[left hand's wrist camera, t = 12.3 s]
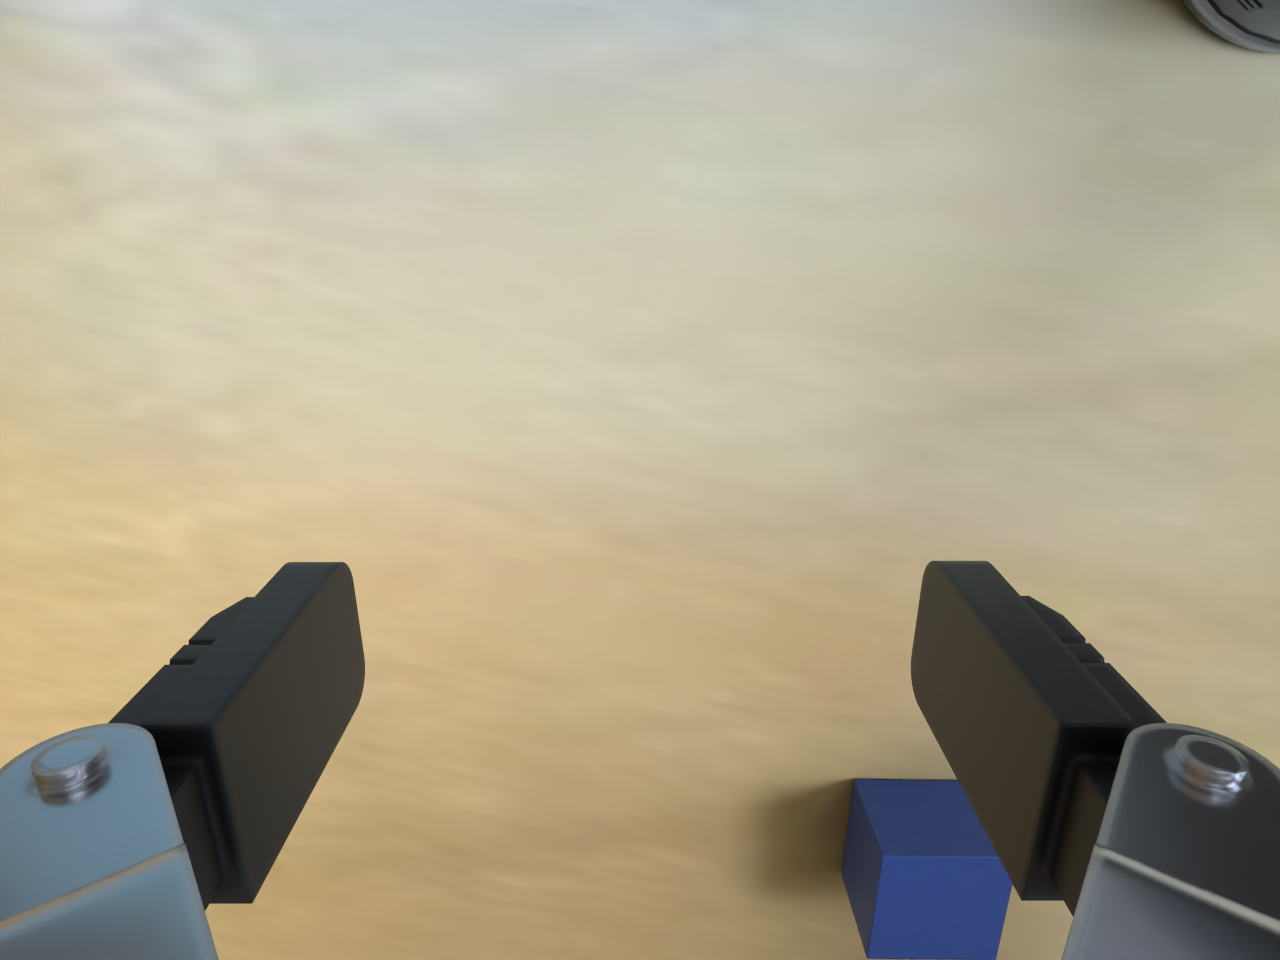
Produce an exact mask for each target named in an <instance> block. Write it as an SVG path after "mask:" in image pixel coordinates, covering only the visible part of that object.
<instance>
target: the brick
mask: <svg viewBox="0 0 1280 960" xmlns="http://www.w3.org/2000/svg"><path fill="white" fill-rule="evenodd" d="M842 877H843V880H844V883H845V887H846V890H847V893H848V897H849V900H850V903H851V907H852V910H853V913H854V917H855V920H856V923H857V927H858V930H859V933H860V937H861V940H862V943H863V947H864V950H865V953H866V957H867V958H868V959H951V960H995V959H996V956H997V952H998V947H999V942H1000V938H1001V933H1002V929H1003V924H1004V920H1005V915H1006V911H1007V906H1008V902H1009V897H1010V893H1011V888H1012V884H1013V883H1012V881H1011V880H1010V878H1009V876H1008V874H1007V872H1006V870H1005V868H1004V866H1003V864H1002V863H1001V861H1000V859H999V857H998V855H997V853H996V851H995V849H994V847H993V845H992V844H991V842H990V840H989V838H988V836H987V834H986V832H985V830H984V828H983V827H982V825H981V823H980V821H979V819H978V817H977V815H976V813H975V811H974V810H973V808H972V806H971V804H970V802H969V800H968V798H967V796H966V794H965V793H964V791H963V789H962V787H961V785H960V783H959V781H954V780H872V779H855V780H854V782H853V790H852V798H851V805H850V813H849V821H848V829H847V837H846V844H845V852H844V860H843V868H842Z"/></svg>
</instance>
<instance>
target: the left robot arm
mask: <svg viewBox="0 0 1280 960" xmlns="http://www.w3.org/2000/svg"><path fill="white" fill-rule="evenodd" d="M1183 2H1184V3H1185V5H1186V6H1187V8H1188V9H1189V10H1190V11H1191V12H1192V13H1193V14H1194V16H1195V17H1196V18H1197V19H1198V20H1199V21H1200V22H1202V23H1203V24H1204V25H1205V26H1206V27H1207V28H1208V29H1210V30H1211V31H1213V32H1214V33H1216V34H1217V35H1219V36H1220V37H1222V38H1224V39H1226V40H1228V41H1230V42H1232V43H1234V44H1236V45H1239V46H1242V47H1245V48H1248V49H1251V50H1256V51H1261V52H1267V53H1278V54H1280V0H1183ZM364 678H365V660H364V652H363V645H362V639H361V632H360V625H359V618H358V611H357V604H356V597H355V590H354V583H353V577H352V574H351V571H350V569H349V567H348V565H347V564H346V563H344V562H289V563H286V564H285V565H284V566H283V567H282V568H281V569H280V570H279V571H278V572H277V573H276V574H275V575H274V577H273V578H272V579H271V580H270V581H269V582H268V583H267V584H266V585H265V586H264V587H263V589H262V590H261V591H260V592H259V593H258V594H257V595H256V596H255V597H246V598H244V599H242V600H241V601H239V602H237V603H235V604H234V605H232V606H230V607H228V608H227V609H225V610H223V611H221V612H220V613H218V614H216V615H214V616H213V617H211V618H210V619H209V620H208V621H207V622H206V623H205V624H204V625H203V626H202V627H201V628H200V629H199V630H198V632H197V633H196V634H195V635H194V636H193V637H192V638H191V639H190V640H189V645H184V646H183V647H182V648H181V649H180V650H179V651H178V652H177V653H176V654H175V655H174V656H173V657H172V658H171V659H170V664H169V665H164V666H163V667H162V668H161V669H160V670H159V671H158V672H157V673H156V675H155V676H154V677H153V678H152V679H151V680H150V681H149V682H148V683H147V684H146V685H145V686H144V687H143V688H142V689H141V690H140V691H139V692H138V693H137V694H136V695H135V696H134V697H133V698H132V699H131V700H130V701H129V702H128V703H127V704H126V705H125V706H124V707H123V708H122V709H121V710H120V711H119V712H118V713H117V714H116V715H115V716H114V718H113V719H112V720H111V721H110V722H109V723H107V724H99V725H92V726H88V727H83V728H79V729H76V730H72V731H69V732H66V733H63V734H60V735H57V736H55V737H52V738H50V739H48V740H46V741H43V742H41V743H39V744H37V745H35V746H33V747H31V748H30V749H28V750H26V751H24V752H23V753H21V754H20V755H18V756H17V757H15V758H14V759H12V760H11V761H10V762H8V763H7V764H6V765H5V766H3V767H2V768H1V769H0V960H219V959H218V956H217V952H216V949H215V945H214V942H213V938H212V935H211V931H210V928H209V924H208V921H207V917H206V914H205V910H206V909H207V907H208V905H209V903H253V901H254V899H255V897H256V895H257V893H258V892H259V890H260V888H261V886H262V884H263V882H264V880H265V879H266V877H267V875H268V873H269V871H270V869H271V867H272V865H273V864H274V862H275V860H276V858H277V856H278V854H279V852H280V850H281V849H282V847H283V845H284V843H285V841H286V839H287V837H288V836H289V834H290V832H291V830H292V828H293V826H294V824H295V822H296V821H297V819H298V817H299V815H300V813H301V811H302V809H303V807H304V806H305V804H306V802H307V800H308V798H309V796H310V794H311V793H312V791H313V789H314V787H315V785H316V783H317V781H318V779H319V778H320V776H321V774H322V772H323V770H324V768H325V766H326V764H327V763H328V761H329V759H330V757H331V755H332V753H333V751H334V750H335V748H336V746H337V744H338V742H339V740H340V738H341V736H342V735H343V733H344V731H345V729H346V727H347V725H348V723H349V722H350V720H351V718H352V716H353V714H354V712H355V710H356V708H357V706H358V704H359V702H360V699H361V695H362V691H363V686H364ZM911 678H912V686H913V691H914V694H915V698H916V701H917V703H918V705H919V707H920V709H921V711H922V713H923V715H924V717H925V719H926V721H927V723H928V724H929V726H930V728H931V730H932V732H933V734H934V736H935V738H936V740H937V741H938V743H939V745H940V747H941V749H942V751H943V753H944V755H945V757H946V758H947V760H948V762H949V764H950V766H951V768H952V770H953V772H954V774H955V775H956V777H957V779H958V781H959V783H960V785H961V787H962V789H963V791H964V793H965V794H966V796H967V798H968V800H969V802H970V804H971V806H972V808H973V810H974V811H975V813H976V815H977V817H978V819H979V821H980V823H981V825H982V827H983V828H984V830H985V832H986V834H987V836H988V838H989V840H990V842H991V844H992V845H993V847H994V849H995V851H996V853H997V855H998V857H999V859H1000V861H1001V863H1002V864H1003V866H1004V868H1005V870H1006V872H1007V874H1008V876H1009V878H1010V880H1011V881H1012V883H1013V885H1014V887H1015V889H1016V891H1017V893H1018V895H1019V897H1020V898H1021V900H1064V902H1065V903H1066V905H1067V907H1068V909H1069V910H1070V912H1071V914H1072V915H1073V921H1072V924H1071V928H1070V931H1069V935H1068V938H1067V942H1066V945H1065V949H1064V952H1063V956H1062V959H1061V960H1280V769H1279V768H1278V767H1277V766H1275V765H1274V764H1273V763H1272V762H1270V761H1269V760H1268V759H1266V758H1265V757H1263V756H1262V755H1260V754H1259V753H1257V752H1256V751H1254V750H1252V749H1250V748H1249V747H1247V746H1245V745H1243V744H1241V743H1239V742H1237V741H1234V740H1232V739H1230V738H1228V737H1225V736H1223V735H1220V734H1217V733H1214V732H1211V731H1208V730H1204V729H1201V728H1197V727H1192V726H1187V725H1181V724H1173V723H1167V722H1166V721H1165V720H1164V719H1163V718H1162V717H1161V716H1160V715H1159V714H1158V713H1157V712H1156V711H1155V710H1154V709H1153V708H1152V707H1151V706H1150V705H1149V704H1148V703H1147V702H1146V701H1145V700H1144V699H1143V698H1142V697H1141V696H1140V695H1139V693H1138V692H1137V691H1136V690H1135V689H1134V688H1133V687H1132V686H1131V685H1130V684H1129V683H1128V682H1127V681H1126V680H1125V679H1124V678H1123V677H1122V676H1121V675H1120V674H1119V673H1118V672H1117V671H1116V670H1115V669H1114V668H1113V667H1112V666H1111V665H1110V664H1109V663H1105V662H1104V657H1103V656H1102V655H1101V654H1100V653H1099V652H1098V651H1097V650H1096V649H1095V648H1094V647H1093V646H1092V645H1091V644H1090V643H1086V642H1085V638H1084V637H1083V636H1082V635H1081V634H1080V633H1079V631H1078V630H1077V629H1076V628H1075V627H1074V626H1073V625H1072V624H1071V623H1070V622H1069V621H1068V620H1067V619H1066V618H1065V617H1064V616H1063V615H1061V614H1059V613H1058V612H1056V611H1054V610H1052V609H1051V608H1049V607H1047V606H1045V605H1044V604H1042V603H1040V602H1038V601H1037V600H1035V599H1033V598H1031V597H1030V596H1020V595H1019V594H1018V593H1017V592H1016V591H1015V590H1014V588H1013V587H1012V586H1011V585H1010V584H1009V583H1008V582H1007V581H1006V580H1005V579H1004V577H1003V576H1002V575H1001V574H1000V573H999V572H998V571H997V570H996V569H995V568H994V566H993V565H992V564H990V563H989V562H987V561H931V562H930V563H929V564H928V565H927V567H926V569H925V571H924V575H923V580H922V586H921V593H920V600H919V607H918V615H917V622H916V629H915V636H914V643H913V650H912V657H911Z"/></svg>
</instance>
